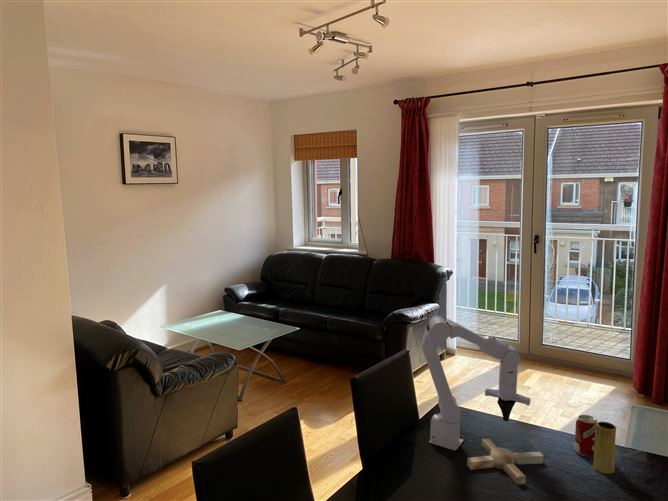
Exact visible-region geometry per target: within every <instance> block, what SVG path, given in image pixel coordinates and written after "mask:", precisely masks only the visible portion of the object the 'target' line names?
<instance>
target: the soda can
mask: <svg viewBox="0 0 668 501" xmlns="http://www.w3.org/2000/svg"><path fill="white" fill-rule="evenodd" d="M577 418H578V419H576V421H575V432H574V446H573V447H574V448H573V450H574V451H575V452H576V453H577V454H578V455H580V456H581V457H582V456H583V457H586V458H594V450H595V440H596V429H597V423H598V419H597V418H596V417H595V416H592V415H587V414H580V415H578V417H577Z"/></svg>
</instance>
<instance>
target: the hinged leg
mask: <svg viewBox="0 0 668 501" xmlns="http://www.w3.org/2000/svg"><path fill="white" fill-rule="evenodd" d="M512 453H513V454H514V465H532V464H533V465H534V464H537V465H539V464H544V454H542V453H541V452H540V451H528V452H527V451H525V452H512Z"/></svg>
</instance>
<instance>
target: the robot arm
mask: <svg viewBox="0 0 668 501" xmlns="http://www.w3.org/2000/svg"><path fill="white" fill-rule="evenodd" d="M449 338H450V339H455V338H459V339H461V340H464V341H467V342H468V343H471V344H473V345H476V346H478V348H479V351H481V352H482V353H484V354H486V355H488V356H490V357H492V358H494V359H495V360H499V371H498V372H499V376H498V389H493V388H486V389H485V390H484V396H486V397H492V398H493V397H494V398H498V400H497V405H498V406H499V409H500V412H501V416H502V420H503V421H504V422H508V421H509V420H510V417H511V416H510V415H511V412H512V411H513V408H514V406H515V404H516V403H519V404H524V405H526V406H528V407H529V406H530V405H531V397H527V396H524V395H522V394H519V393H518V392H517V389H518V388H517V387H518V367H519V364H520V363H521V361H522V358H521V355H520V353H519V351H517V350H516V349H515V348H514V347H513V345H511V344H509V343H507V342H502V341H500V340H498V339H496V337H495V336H494V335H491V336H489V335H485V336H481V335H480V334H478V333H476V332H475V331H472V330H470V329H468V328H467V327H464V325H461V324H459V323H458V322H455V321H453V320H452V319H449V318H444V317H443V316H441V315H433V316H431V317H430V318H429V319H428V321H427V322H426V324H425V326H424V332H423V336H422V340H421V343H420V345H421V349H422V352H423V355H424V357H425V361H426V364H427V366H428V370H429V373H430V375H431V378H432V381H433V383H434V387H435V390H436V393H437V396H438V401H437V402H438V407H439V409H440V412H439V413H434V414H433V416H432V418H431V419H430V432H429V433H430V434H429V436H430V437H429V443H430V444H432V445H435V446H440V447H442V448H446V449H448V450H452V451H456V450H458V448H459V447H460V446H461V445H462V443H463V442H464V439H463V438H460V432H461V431H460V430H461V428H460V426H461V417H462V411H461V409H460V407H459V405H458V403H457V399H456V397H454V395H452V391H451V389H450V385H449V382H448V380H447V376H446V373H445V371H444V368H443V365H442V362H441V359H440V357H439V352H438V351H437V349H438V348H439V347H440V346H441V344H443V343H444V342H445V341H446V340H448V339H449Z"/></svg>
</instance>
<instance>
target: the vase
mask: <svg viewBox="0 0 668 501" xmlns="http://www.w3.org/2000/svg"><path fill="white" fill-rule="evenodd" d="M616 435H617V426H616V425H614V424H613V423H612V422H611V423H610V422H607V421H597V429H596V440H595V450H594V456H593V462H592V468H593V469H594V470H596V471H597V472H599V473H601V474H606V475H610V474H614V473H615V472H616V471H615V470H616V469H615V468H616V467H615V462H616V461H615V459H616V457H615V456H616V438H617V436H616Z"/></svg>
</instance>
